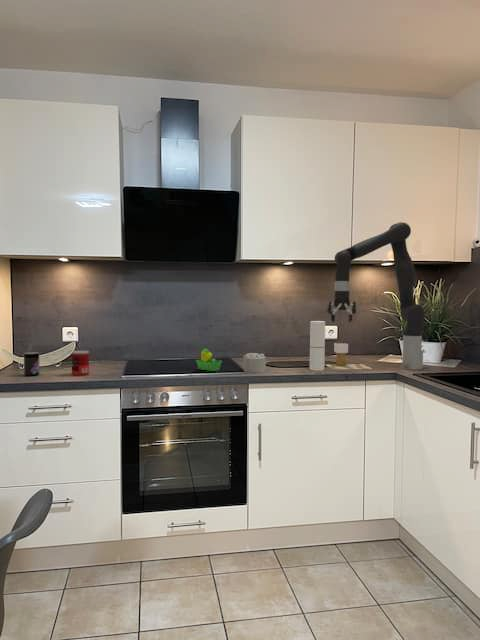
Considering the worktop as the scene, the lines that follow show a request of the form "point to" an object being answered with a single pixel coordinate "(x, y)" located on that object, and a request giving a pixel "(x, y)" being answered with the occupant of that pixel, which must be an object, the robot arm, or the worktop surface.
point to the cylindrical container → (317, 345)
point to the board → (348, 366)
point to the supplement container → (31, 364)
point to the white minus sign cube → (340, 347)
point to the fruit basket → (208, 362)
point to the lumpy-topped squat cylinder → (254, 363)
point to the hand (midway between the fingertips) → (341, 321)
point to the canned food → (80, 363)
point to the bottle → (340, 359)
